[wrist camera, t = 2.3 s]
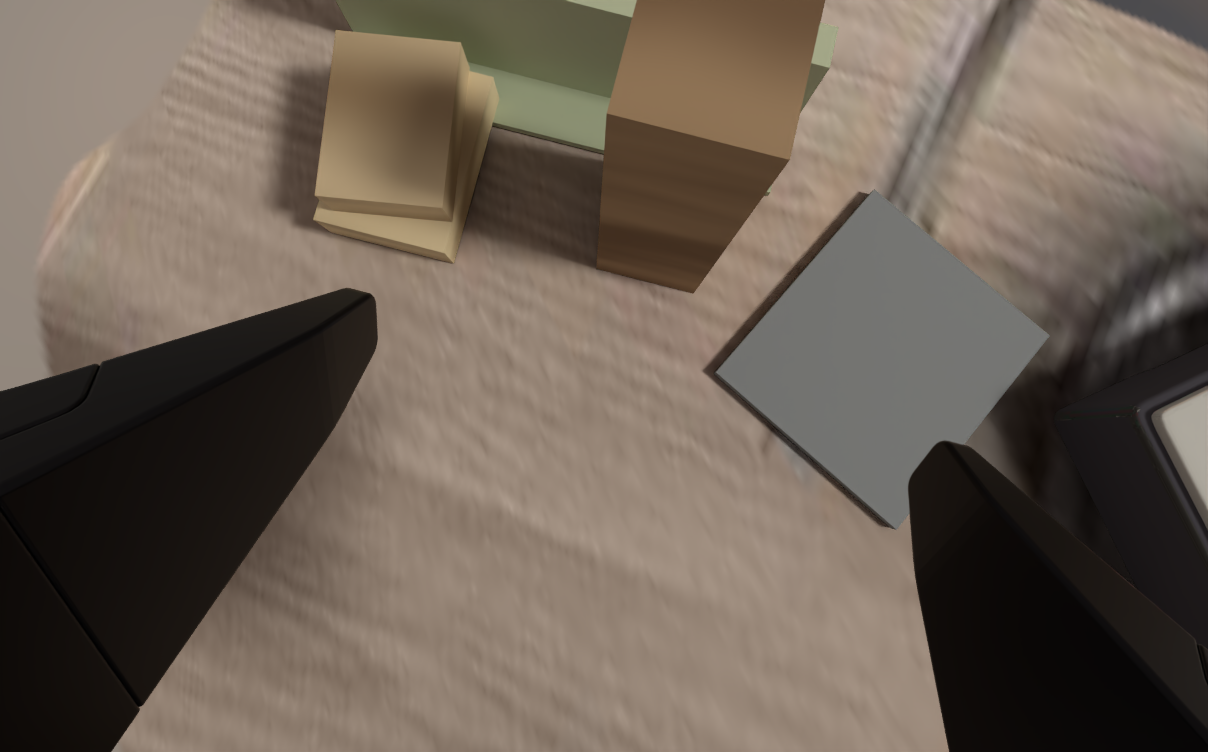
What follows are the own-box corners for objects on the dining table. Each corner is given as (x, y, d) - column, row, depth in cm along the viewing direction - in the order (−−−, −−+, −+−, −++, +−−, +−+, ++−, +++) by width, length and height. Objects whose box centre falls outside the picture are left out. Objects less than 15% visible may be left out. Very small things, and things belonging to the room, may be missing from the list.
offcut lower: (453, 263, 23) (444, 253, 22) (331, 232, 23) (313, 219, 22) (499, 98, 24) (493, 77, 22) (379, 67, 24) (364, 44, 22)
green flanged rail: (767, 195, 24) (816, 130, 19) (340, 87, 24) (275, -8, 19) (792, 85, 24) (845, -7, 19) (375, -21, 24) (322, -140, 19)
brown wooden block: (693, 293, 23) (789, 159, 12) (596, 268, 23) (606, 113, 12) (718, 189, 24) (831, -27, 13) (623, 165, 24) (656, -72, 13)
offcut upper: (452, 222, 22) (442, 207, 20) (333, 210, 22) (314, 195, 20) (469, 67, 22) (460, 42, 21) (353, 56, 22) (335, 29, 20)
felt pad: (890, 528, 22) (896, 529, 22) (713, 373, 23) (716, 372, 22) (1041, 337, 24) (1049, 335, 23) (869, 193, 24) (874, 189, 24)
